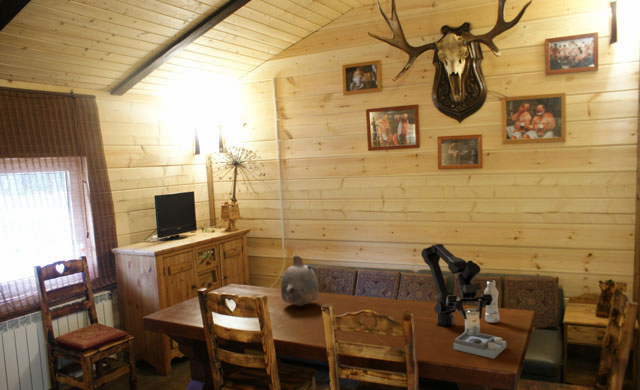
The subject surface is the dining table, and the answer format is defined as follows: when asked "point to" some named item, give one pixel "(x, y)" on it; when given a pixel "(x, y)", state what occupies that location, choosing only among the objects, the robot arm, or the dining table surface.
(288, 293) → the jug
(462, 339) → the square tray with knobs
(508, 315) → the dining table surface
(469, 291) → the robot arm
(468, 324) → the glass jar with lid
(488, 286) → the plastic bottle
